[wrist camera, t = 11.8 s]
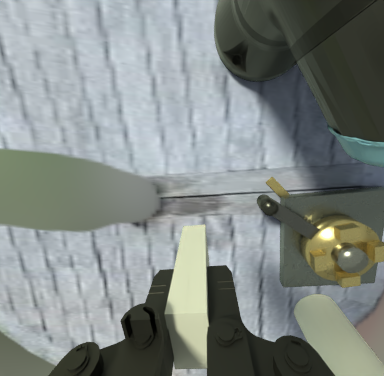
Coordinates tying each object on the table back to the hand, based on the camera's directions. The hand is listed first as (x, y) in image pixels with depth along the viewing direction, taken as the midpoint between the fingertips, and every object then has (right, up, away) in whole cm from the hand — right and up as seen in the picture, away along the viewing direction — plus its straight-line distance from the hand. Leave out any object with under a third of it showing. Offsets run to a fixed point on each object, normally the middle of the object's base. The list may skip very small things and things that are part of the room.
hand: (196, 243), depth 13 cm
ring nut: (+22, -4, +23) cm, 32 cm away
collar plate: (+25, -5, +25) cm, 36 cm away
